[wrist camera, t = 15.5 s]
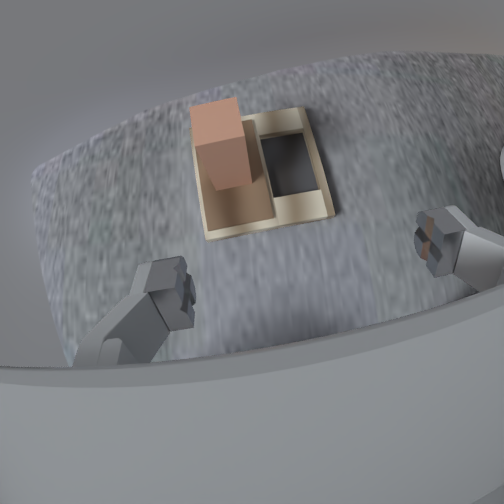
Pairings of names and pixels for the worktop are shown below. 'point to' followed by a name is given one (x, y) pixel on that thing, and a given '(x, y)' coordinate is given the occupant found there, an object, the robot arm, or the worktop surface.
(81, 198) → the worktop surface
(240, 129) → the terracotta block
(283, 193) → the hole board
